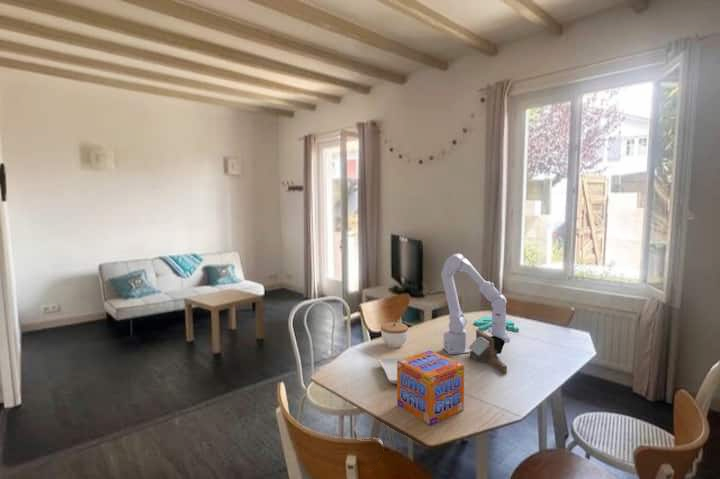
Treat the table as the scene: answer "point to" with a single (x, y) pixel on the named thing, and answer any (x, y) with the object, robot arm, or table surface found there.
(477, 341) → the flap
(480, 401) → the table surface
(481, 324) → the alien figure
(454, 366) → the game box
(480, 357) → the tall grey block
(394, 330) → the lidded bowl
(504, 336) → the robot arm
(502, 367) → the doorway frame
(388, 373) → the salad plate
